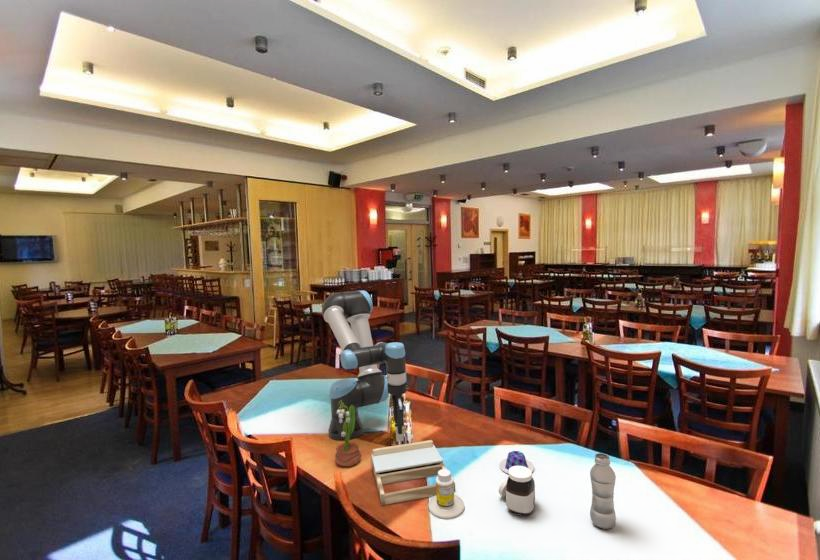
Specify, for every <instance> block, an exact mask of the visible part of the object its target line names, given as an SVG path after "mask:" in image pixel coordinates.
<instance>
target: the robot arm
mask: <svg viewBox="0 0 820 560" xmlns="http://www.w3.org/2000/svg"><path fill="white" fill-rule="evenodd" d="M321 306H322V307H321V315H322V317H323V320H324V321H325V323H328V325H329V327H330V329H331V330H332V332H333V335H334V337H335V339H336V340H337V341H336V342H337V343H338V345H339V347H340V349H341V352H340V358H339V359H340V360H339V361H340V363H341V367H342V368H343V369H344V370H353V369H357V368H358V370H359V372H358V375H357V376H356V378H357V380H356V378H354V377H348V378H346V377H345V378H340V379H338V380H336V381H335V382H334V383H332V384H331V386H330V388H329V393H330V394H329V398H330V412H331V418H330V419H331V420H330V422H329V423H330V424H329V427H328V436H329V438H330V439H332V440H334V441H341V442H342V441H345V436H344V437H343V436H342V435H341V433H342V432H343V431H344V429H343V425H344V423H345V416H344V415H345V414H344V413H343V414H344V415H343V417H344V418H342V420H343V421H342V423H339V420H340V419H339V414H338V413H337V410H338V409H340V404H341V403H342V402H343V403H344V405H345V406H347V407H345V409H346V412H347V408H348V410H349V407H350V406H351V405H353V406H354V410H355V424H354V430H353V432H352V434H351V436H350V440H354V439H356V438H359V437H360V436H361V435H362V434H363V433H364V426H363V423H362V420H361V418H360V416H359V408H363V407H368V406H371V405H372V406H373V405H376V404H381V403H384V402H385V401H387V400H388V398H389V395H391V400H392V408H393V409H392V410H393V420H394V423H395V424H394V427H395V439H396V442H404V440H405V439H404V438H405V437H404V425H405V412H404V411H405V403H404V401H405V399H404V397H403V394H406V393H407V391H408V388H407V371H406V369H407V368H406V350H405V345H404V343H403V342H399V341H397V342H395V341H394V342H389V343H387V342H382V341H380V342H377V343H375V344H374V342H373V338H372V333H371V328H370V327H371V326H370V322H369V319H370V317H371V313H372V312H373V309H374V307H373V306H374V305H373V300H372V298H371V295H370V294H369V293H368V291H366V290H363V289H362V290H351V291H350V290H349V291H341V292H334V293H332V294H329V296H328V297H326V298H325V299H324V302H323V304H322V305H321ZM380 364H385V365H386V375H384V374H383V372H382V370H381V369H379V368H378V365H380ZM341 400H342V401H341ZM340 401H341V402H340ZM338 403H339V404H338ZM341 409H344V407H342V405H341ZM336 413H337V414H336Z"/></svg>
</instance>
